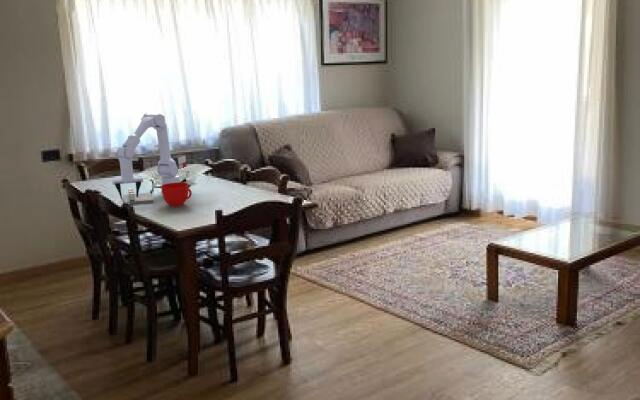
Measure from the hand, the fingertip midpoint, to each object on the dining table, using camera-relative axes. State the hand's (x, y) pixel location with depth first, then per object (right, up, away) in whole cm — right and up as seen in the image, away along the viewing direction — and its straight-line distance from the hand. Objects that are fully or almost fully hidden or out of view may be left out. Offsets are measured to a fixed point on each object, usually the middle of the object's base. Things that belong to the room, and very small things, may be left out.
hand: (129, 197), depth 301 cm
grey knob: (-3, +1, +12) cm, 12 cm away
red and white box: (+13, +10, +56) cm, 58 cm away
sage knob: (+1, -1, +1) cm, 2 cm away
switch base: (+2, -1, +8) cm, 8 cm away
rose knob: (-1, 0, +6) cm, 6 cm away
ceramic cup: (+26, -4, -6) cm, 27 cm away
